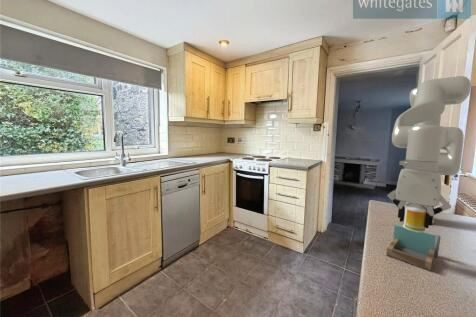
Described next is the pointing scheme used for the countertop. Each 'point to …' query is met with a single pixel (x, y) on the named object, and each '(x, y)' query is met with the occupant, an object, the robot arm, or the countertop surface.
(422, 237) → the gate
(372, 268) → the countertop surface
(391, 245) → the bay
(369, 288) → the countertop surface
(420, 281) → the countertop surface
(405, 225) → the supplement bottle
